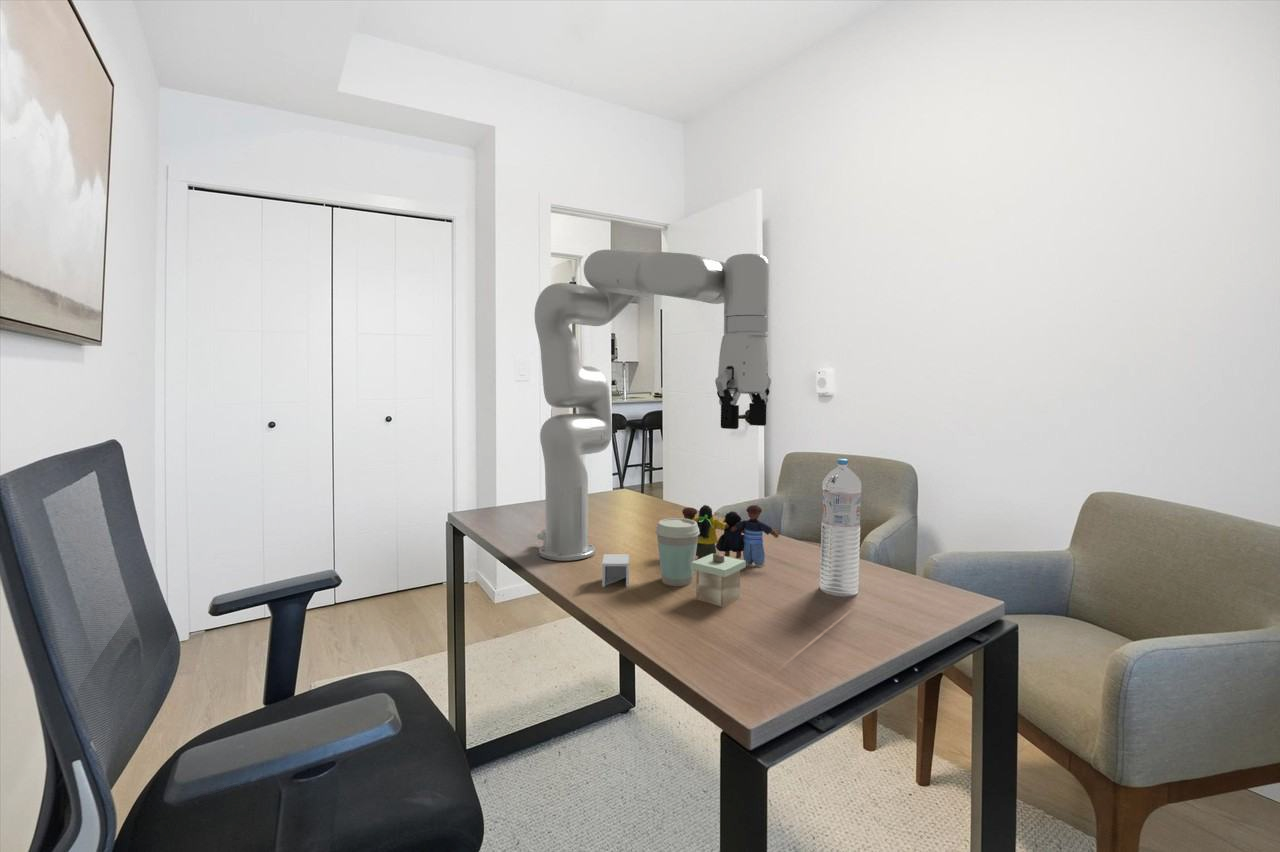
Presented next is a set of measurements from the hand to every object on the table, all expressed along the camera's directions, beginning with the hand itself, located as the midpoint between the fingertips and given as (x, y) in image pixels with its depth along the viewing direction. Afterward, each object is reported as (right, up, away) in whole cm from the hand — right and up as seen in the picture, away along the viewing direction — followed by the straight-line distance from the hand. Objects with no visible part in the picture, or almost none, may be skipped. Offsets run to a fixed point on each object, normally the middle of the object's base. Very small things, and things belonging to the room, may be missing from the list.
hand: (744, 426), depth 105 cm
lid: (-4, -25, +2) cm, 26 cm away
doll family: (0, -30, +25) cm, 39 cm away
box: (-4, -31, +2) cm, 31 cm away
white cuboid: (-23, -30, +11) cm, 40 cm away
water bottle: (+19, -31, +6) cm, 37 cm away
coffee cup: (-11, -31, +11) cm, 34 cm away
